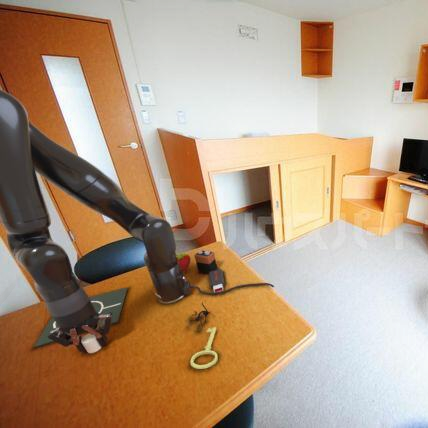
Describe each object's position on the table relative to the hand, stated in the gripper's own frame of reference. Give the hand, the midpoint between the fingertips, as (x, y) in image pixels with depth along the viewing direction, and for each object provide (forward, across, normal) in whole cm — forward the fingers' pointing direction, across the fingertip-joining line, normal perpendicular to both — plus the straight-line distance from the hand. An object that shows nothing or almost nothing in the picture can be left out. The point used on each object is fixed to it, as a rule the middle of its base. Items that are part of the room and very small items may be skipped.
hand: (95, 346), depth 71 cm
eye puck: (0, 0, 0) cm, 0 cm away
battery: (+1, +33, +24) cm, 41 cm away
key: (+1, +30, -16) cm, 34 cm away
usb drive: (+1, +36, +14) cm, 38 cm away
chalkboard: (+1, -6, +17) cm, 18 cm away
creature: (+1, +28, -4) cm, 28 cm away
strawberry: (+1, +24, +28) cm, 37 cm away
